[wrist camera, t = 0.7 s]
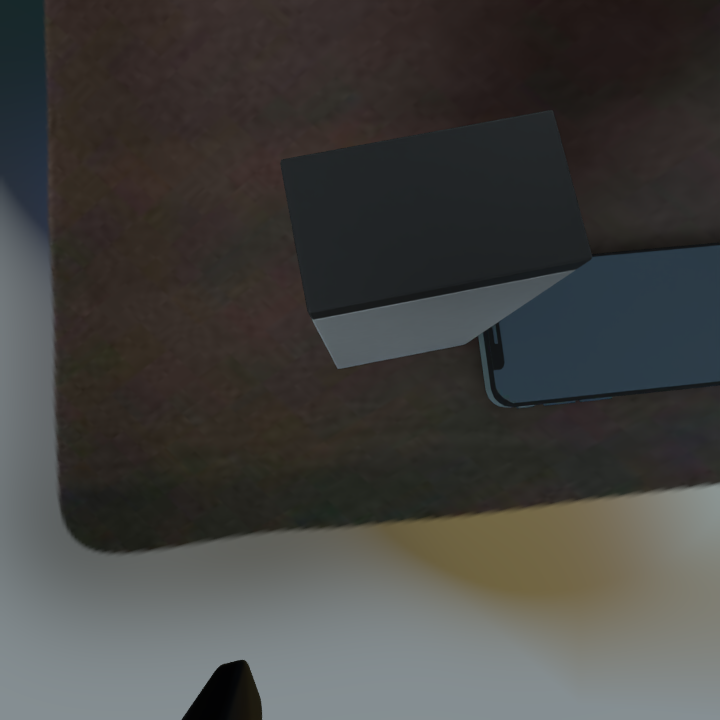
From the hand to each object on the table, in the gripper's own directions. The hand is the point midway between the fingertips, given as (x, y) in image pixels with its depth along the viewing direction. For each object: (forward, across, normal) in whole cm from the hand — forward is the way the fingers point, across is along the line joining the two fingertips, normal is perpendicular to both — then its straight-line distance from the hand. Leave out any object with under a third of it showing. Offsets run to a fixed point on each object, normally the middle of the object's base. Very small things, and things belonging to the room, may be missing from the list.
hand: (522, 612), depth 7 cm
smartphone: (+17, -12, +1) cm, 21 cm away
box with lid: (+18, -1, -2) cm, 18 cm away
